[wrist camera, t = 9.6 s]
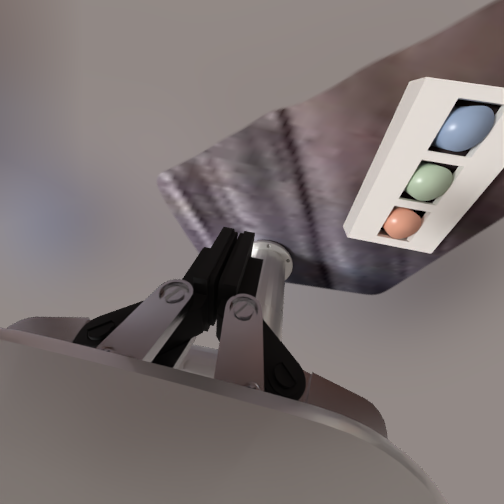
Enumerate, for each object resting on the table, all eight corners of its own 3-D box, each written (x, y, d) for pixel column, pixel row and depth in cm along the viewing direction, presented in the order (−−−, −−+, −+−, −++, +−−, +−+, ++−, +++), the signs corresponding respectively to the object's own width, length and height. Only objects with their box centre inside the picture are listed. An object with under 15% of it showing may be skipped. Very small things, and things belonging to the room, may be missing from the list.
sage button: (422, 194, 31) (437, 203, 28) (393, 189, 32) (404, 197, 29) (442, 163, 29) (461, 170, 26) (410, 158, 29) (424, 164, 26)
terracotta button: (399, 229, 35) (409, 241, 32) (373, 224, 36) (381, 235, 32) (415, 205, 33) (428, 215, 29) (386, 200, 33) (396, 209, 30)
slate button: (452, 149, 28) (472, 154, 24) (418, 144, 28) (434, 148, 25) (478, 109, 25) (506, 109, 22) (440, 103, 25) (462, 102, 22)
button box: (419, 241, 36) (431, 253, 33) (342, 226, 37) (347, 237, 34) (527, 98, 24) (564, 96, 21) (409, 81, 25) (426, 77, 22)
